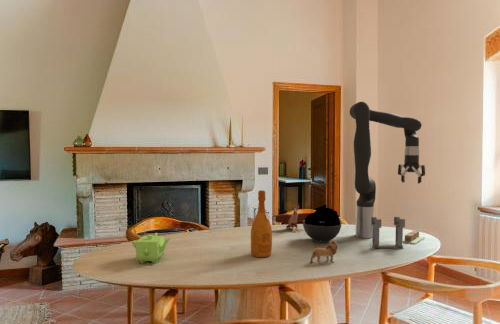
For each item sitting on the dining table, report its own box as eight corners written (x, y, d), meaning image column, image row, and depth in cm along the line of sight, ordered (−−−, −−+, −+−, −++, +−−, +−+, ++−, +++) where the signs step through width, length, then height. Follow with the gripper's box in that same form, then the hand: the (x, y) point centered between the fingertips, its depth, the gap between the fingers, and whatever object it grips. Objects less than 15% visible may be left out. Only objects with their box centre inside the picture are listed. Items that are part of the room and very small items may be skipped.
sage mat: (415, 244, 192) (415, 243, 192) (399, 241, 197) (399, 240, 197) (424, 238, 205) (424, 237, 205) (409, 235, 210) (409, 234, 210)
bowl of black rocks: (325, 248, 183) (325, 210, 182) (294, 240, 198) (295, 205, 197) (348, 241, 196) (349, 206, 195) (318, 235, 211) (318, 202, 210)
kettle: (157, 253, 173) (157, 229, 172) (174, 260, 163) (174, 235, 162) (126, 260, 162) (126, 234, 162) (143, 268, 152) (143, 241, 152)
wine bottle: (257, 259, 165) (257, 192, 164) (246, 253, 174) (247, 189, 172) (275, 256, 169) (276, 191, 168) (265, 251, 178) (265, 188, 177)
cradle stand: (375, 250, 181) (376, 219, 180) (370, 246, 187) (370, 217, 187) (404, 249, 182) (405, 219, 182) (398, 246, 189) (399, 216, 188)
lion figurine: (332, 258, 167) (332, 238, 166) (340, 261, 162) (340, 241, 162) (306, 263, 160) (306, 242, 159) (314, 267, 155) (314, 245, 155)
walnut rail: (410, 241, 195) (410, 236, 195) (404, 241, 197) (404, 235, 197) (418, 236, 206) (419, 231, 206) (413, 235, 208) (413, 230, 208)
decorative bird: (280, 230, 206) (276, 204, 211) (268, 236, 222) (264, 211, 227) (324, 227, 216) (319, 202, 221) (309, 232, 232) (305, 209, 237)
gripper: (427, 154, 209) (426, 183, 209) (401, 154, 218) (400, 181, 218) (423, 154, 203) (422, 184, 203) (396, 154, 212) (396, 182, 213)
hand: (411, 182), depth 211 cm, fingers open, 8 cm apart
